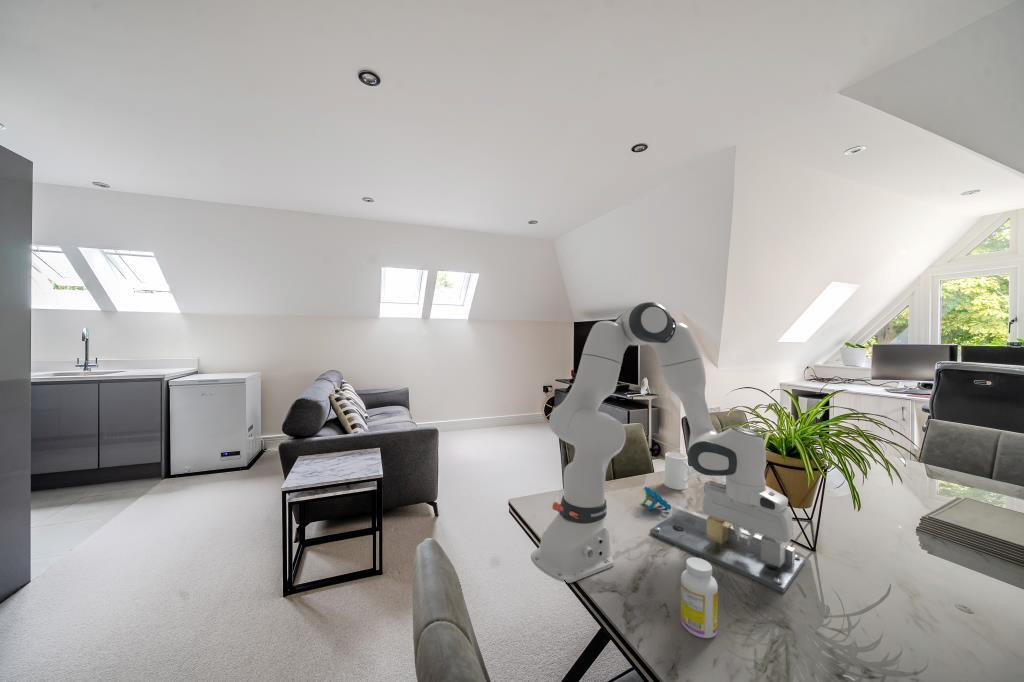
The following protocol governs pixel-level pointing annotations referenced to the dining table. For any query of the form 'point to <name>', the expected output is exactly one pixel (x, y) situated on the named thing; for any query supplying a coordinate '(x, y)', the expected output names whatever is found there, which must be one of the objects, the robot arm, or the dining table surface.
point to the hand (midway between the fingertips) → (744, 543)
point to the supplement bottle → (699, 598)
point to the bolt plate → (728, 555)
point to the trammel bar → (764, 546)
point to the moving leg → (717, 529)
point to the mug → (676, 471)
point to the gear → (655, 499)
